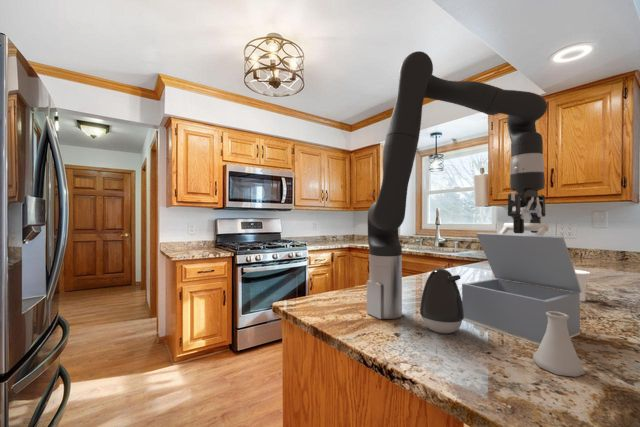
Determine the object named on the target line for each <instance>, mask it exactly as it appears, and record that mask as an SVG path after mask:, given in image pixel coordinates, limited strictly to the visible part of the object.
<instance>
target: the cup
mask: <svg viewBox="0 0 640 427" xmlns="http://www.w3.org/2000/svg"><path fill="white" fill-rule="evenodd" d="M574 270H575V273H576V276H577V279H578V282H579V285H580V288H581V291H582V292H581V293H580V302H585V301H587V300H586V299H587V298H586V287H587V285H588V284H587V283H588V279H589V277H590V275H591V272H590V271H586V270H580V269H574ZM565 291H567V290H565ZM571 292H572V291H571ZM577 293H578V292H577Z"/></svg>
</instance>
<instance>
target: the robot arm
mask: <svg viewBox="0 0 640 427" xmlns="http://www.w3.org/2000/svg"><path fill="white" fill-rule="evenodd" d="M398 71H399V72H398V87H397V96H396V102H395V104H394V106H393V111H392V113H391V117H390V120H389V124H388V128H387V132H386V135H385V141H384V145H383V151H382V179H381V180H382V182H381V185H380V190H379V194H378V197H377V199H376V201H375V202H373V203H372V204H371V206H370V207H369V209H368V212H367V243H368V249H369V250H368V251H369V253H368V256H369V258H368V259H369V266H368V268H369V272H368V274H369V277H368V280H366V314H368V315H370V316H373V317H374V318H377V319H379V320H384V319H387V320H388V319H389V320H391V319H392V320H394V319H398V318H401V317H402V316H403V281H402V280H403V263H402V262H403V259H402V258H403V254H402V252H403V251H402V250H403V248H402V244H401V242H400V237H399V228H400V227H401V226H402V224H404V223H403V222H404V221H405V216H406V208H407V198H408V197H407V196H408V189H409V184H410V179H411V175H412V173H413V172H412V170H413V166H414V163H415V157H416V153H417V149H418V145H419V139H420V134H421V125H422V114H423V104H424V100H425V99H430V100H436V101H442V102H444V103H451V104H454V105H458V106H460V107H461V106H462V107H464V108H468V109H471V110H472V111H476V112H480V113H483V114H485V115H488V116H496V115H499V114H501V115H506V116H507V119H506V125H507V130H508V134H509V139H510V143H511V144H510V153H511V154H510V164H509V188H510V189H509V190H510V191H512V192H511V193H508V195H507V216H508V217H511V218H512V221H513V222H512V223H513V226H514V230H513V234H524V233H525V231H524V223H525V219H524V218H525V216H526V213H527V214H528V216H529V218H530V219H529V220H530V222H529V223H541V221H542V219H543V218H545V217H546V198H545V196H546V195H544V194H539V192H538V191H541V190H544V189H545V159H544V146H543V145H544V143H543V136H542V134H541V133H539V132H538V131H537V126H536V122H537V121H538V120H540V119H541V118H542V117H543V116H544V115H545V114H546V113H547V109H548V102H547V100H546V99H545V98H544V97H543V96H541V95H539V94H537V93H535V92H531V91H526V90H525V91H524V90H514V89H503V88H501V87H498V86H494V85H492V84H488V83H484V82H480V81H474V80H473V81H472V80H469V81H467V80H465V81H463V80H459V81H455V80H448V79H443V78H440V77H437V76H435V75H433V72H434V65H433V61H432V58H431V57H430V56H429V55H428V54H427V53H426V52H424V51H414V52H412V53H410V54H408V55H407V56H406V57H405V59H403V60H402V62H401V64H400V66H399V70H398ZM537 232H538V231H530V233H534V234H536V233H537Z"/></svg>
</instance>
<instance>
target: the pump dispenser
mask: <svg viewBox="0 0 640 427" xmlns="http://www.w3.org/2000/svg"><path fill="white" fill-rule="evenodd" d="M460 279H461V276H460V275H459V274H456V275H452V273H451V272H450V271H449V270H448V269H445V268H436V269H433V270H432V271H431V272H430V274H429V275H428V277H427V279H426V281H425V284H424V287H423V290H422V293H421V297H420V304H419V315H420V316H421V320H422V322H423V324H424V326H425V327H426V328H428V329H429V330H430V331H433V332H435V333H439V334H446V335H447V334H452V333H455V332H456V331H458V329H460V327H461V325H462V323H463V321H464V320H463V319H464V310H463V304H462V294H461V292H460V288H459V287H458V283H457V282H456V281H458V280H460Z"/></svg>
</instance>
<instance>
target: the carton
mask: <svg viewBox="0 0 640 427" xmlns="http://www.w3.org/2000/svg"><path fill="white" fill-rule="evenodd" d="M461 299H462V304H463V310H464V319H463V320H462V321H464V322H467V323H470V324H473V323H474V325H477V326H479V327H483V328H485V329H489V330H492V331H494V332H498V333H501V334H504V335H507V336H510V337H512V338H516V339H519V340H522V341H525V342H529V343H531V344H534V345H536V346H540V344H541V341H542V339H543V337H544V335H545V333H546V329H547V324H548V316H547V315H546V312H549V311H553V312H560V313H564V314H566V315H568V316H569V319H567V328H568V332H569V337H570V339H571V338H574V337H577V336H579V335H580V334H581V314H580V313H581V301H580V293H577V292H571V291H565V290H561V289H555V288H549V287H544V286H538V285H532V284H526V283H520V282H515V281H509V280H503V279H497V278H495V277H494V278H490V279H485V280H478V281H477V280H476V281H473V282H466V283H462V284H461Z"/></svg>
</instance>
